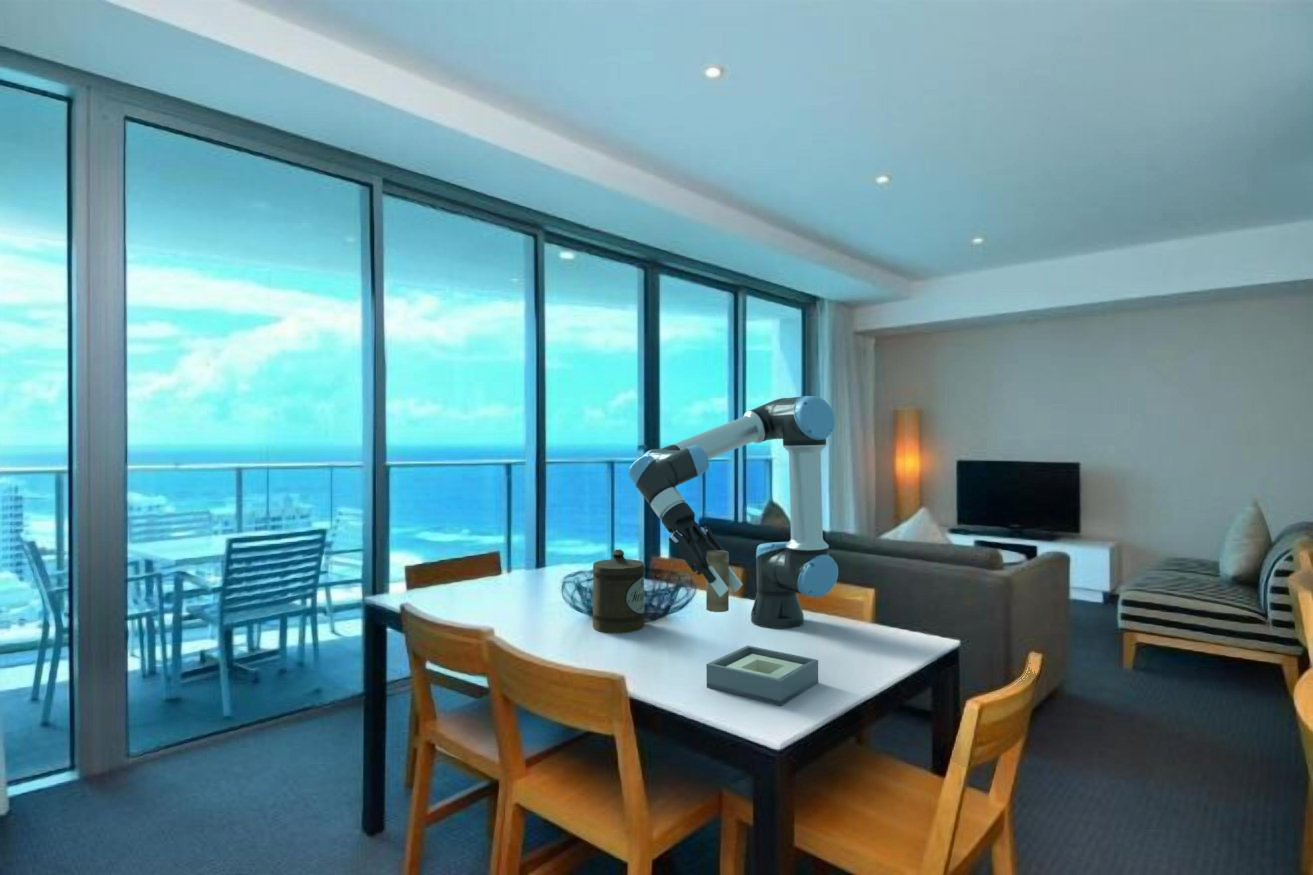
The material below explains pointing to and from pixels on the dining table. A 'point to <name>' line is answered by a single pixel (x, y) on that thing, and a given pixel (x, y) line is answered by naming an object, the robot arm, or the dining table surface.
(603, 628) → the wooden container
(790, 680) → the tray
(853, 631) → the dining table surface
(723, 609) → the peg
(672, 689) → the dining table surface
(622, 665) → the dining table surface
